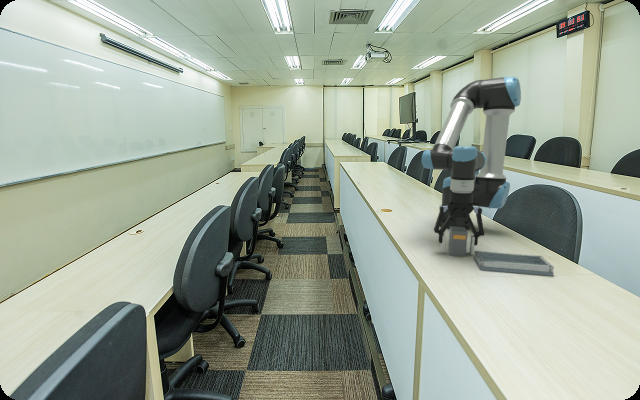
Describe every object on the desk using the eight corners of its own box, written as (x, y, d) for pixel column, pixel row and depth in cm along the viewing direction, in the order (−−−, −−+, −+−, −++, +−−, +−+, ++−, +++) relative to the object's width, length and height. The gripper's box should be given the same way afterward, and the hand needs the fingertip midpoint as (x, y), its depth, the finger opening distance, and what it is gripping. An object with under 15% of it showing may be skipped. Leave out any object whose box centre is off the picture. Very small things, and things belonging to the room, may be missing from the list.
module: (448, 249, 119) (449, 226, 117) (462, 250, 117) (464, 227, 116) (450, 255, 113) (452, 231, 111) (465, 256, 112) (467, 232, 110)
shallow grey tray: (473, 258, 110) (474, 250, 110) (539, 263, 105) (540, 255, 105) (480, 270, 101) (481, 261, 100) (553, 276, 96) (554, 267, 95)
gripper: (429, 192, 110) (425, 253, 114) (499, 194, 104) (492, 259, 109) (427, 188, 117) (424, 246, 121) (493, 190, 111) (487, 251, 116)
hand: (456, 252), depth 115 cm, fingers open, 9 cm apart
